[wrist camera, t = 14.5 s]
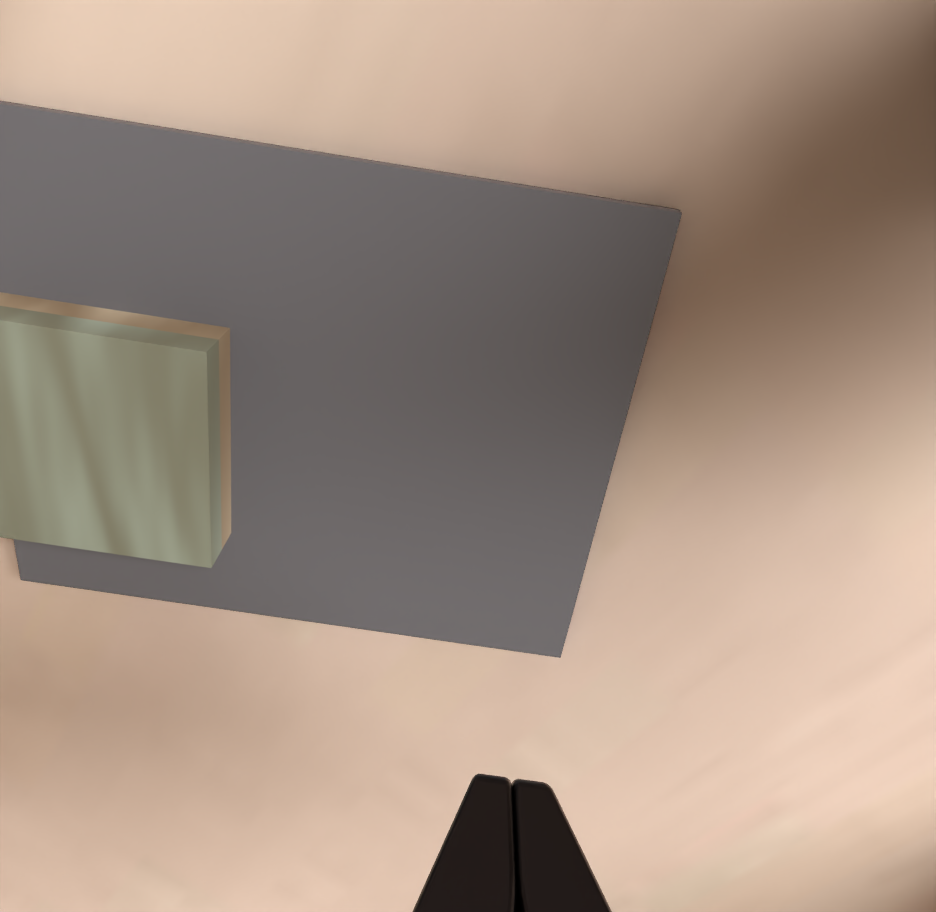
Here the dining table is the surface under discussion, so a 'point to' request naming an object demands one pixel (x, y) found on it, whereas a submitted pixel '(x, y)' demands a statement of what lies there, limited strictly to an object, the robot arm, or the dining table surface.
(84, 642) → the dining table surface
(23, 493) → the tile
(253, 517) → the mat
